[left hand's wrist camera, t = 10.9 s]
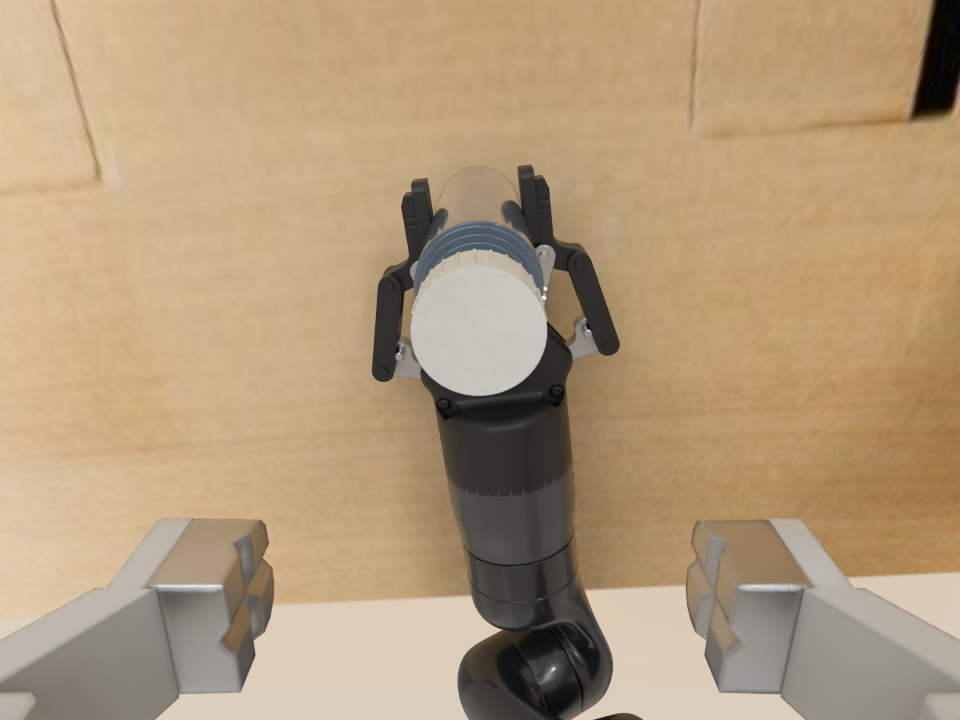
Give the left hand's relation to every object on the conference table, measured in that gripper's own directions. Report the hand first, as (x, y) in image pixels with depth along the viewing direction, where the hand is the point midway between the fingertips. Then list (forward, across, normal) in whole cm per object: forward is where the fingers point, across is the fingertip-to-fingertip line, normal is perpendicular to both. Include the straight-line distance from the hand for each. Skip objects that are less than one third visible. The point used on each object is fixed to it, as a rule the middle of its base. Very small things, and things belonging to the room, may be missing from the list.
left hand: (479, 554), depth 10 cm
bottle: (+34, 0, 0) cm, 34 cm away
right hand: (+27, 0, -3) cm, 27 cm away
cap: (+10, 0, 0) cm, 10 cm away
